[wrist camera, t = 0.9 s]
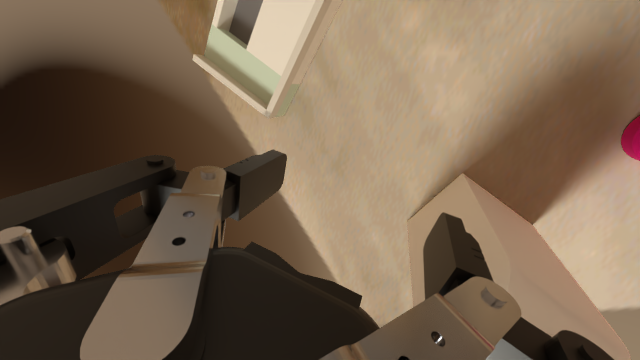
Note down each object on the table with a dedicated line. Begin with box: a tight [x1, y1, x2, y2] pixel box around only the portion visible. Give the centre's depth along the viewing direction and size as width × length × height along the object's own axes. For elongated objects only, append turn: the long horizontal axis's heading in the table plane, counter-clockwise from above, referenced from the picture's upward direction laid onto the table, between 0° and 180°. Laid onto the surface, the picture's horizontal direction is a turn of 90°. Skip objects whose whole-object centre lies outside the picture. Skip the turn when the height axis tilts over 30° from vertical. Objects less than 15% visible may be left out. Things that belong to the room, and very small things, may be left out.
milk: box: [407, 173, 631, 360], centre depth 24 cm, size 12×12×26 cm
